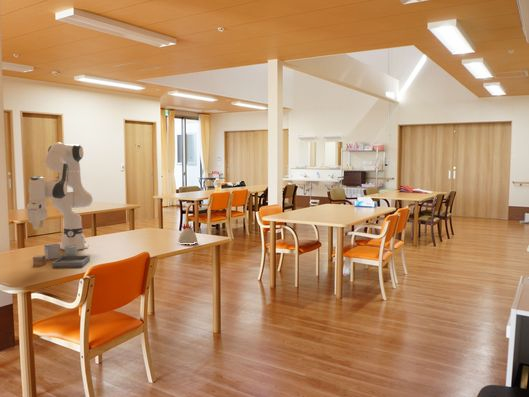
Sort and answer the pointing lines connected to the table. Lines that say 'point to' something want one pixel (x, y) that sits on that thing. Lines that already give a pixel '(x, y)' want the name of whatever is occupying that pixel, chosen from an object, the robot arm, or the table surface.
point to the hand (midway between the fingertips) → (38, 228)
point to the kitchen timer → (187, 235)
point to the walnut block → (38, 260)
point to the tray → (70, 261)
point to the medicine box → (52, 251)
